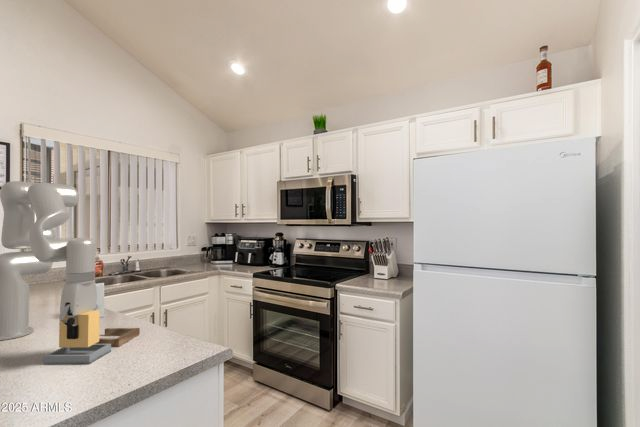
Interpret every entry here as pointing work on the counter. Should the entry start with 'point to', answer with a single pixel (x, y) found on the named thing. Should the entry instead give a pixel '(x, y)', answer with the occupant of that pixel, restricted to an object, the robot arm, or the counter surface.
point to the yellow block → (82, 331)
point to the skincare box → (100, 298)
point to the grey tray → (77, 354)
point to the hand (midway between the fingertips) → (79, 334)
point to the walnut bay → (124, 334)
